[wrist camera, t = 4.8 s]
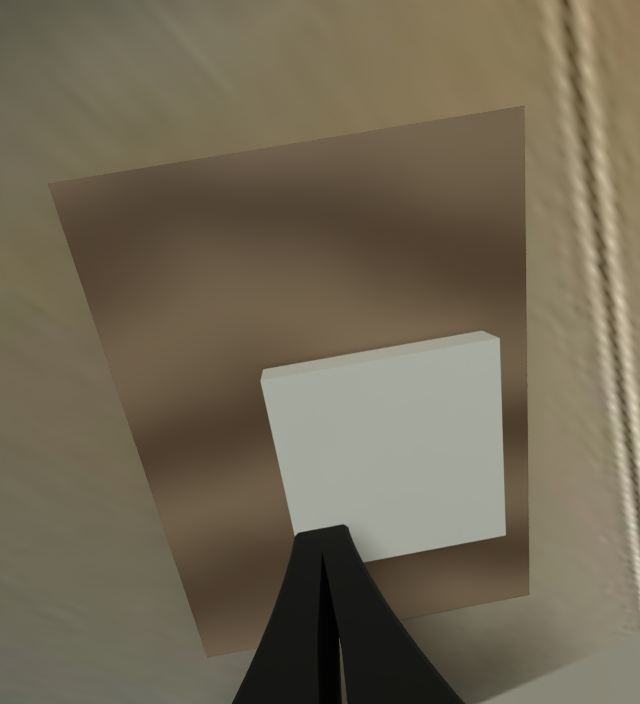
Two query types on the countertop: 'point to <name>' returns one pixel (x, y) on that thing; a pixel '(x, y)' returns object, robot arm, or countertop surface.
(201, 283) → the board
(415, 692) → the robot arm
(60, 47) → the countertop surface
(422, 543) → the tile
